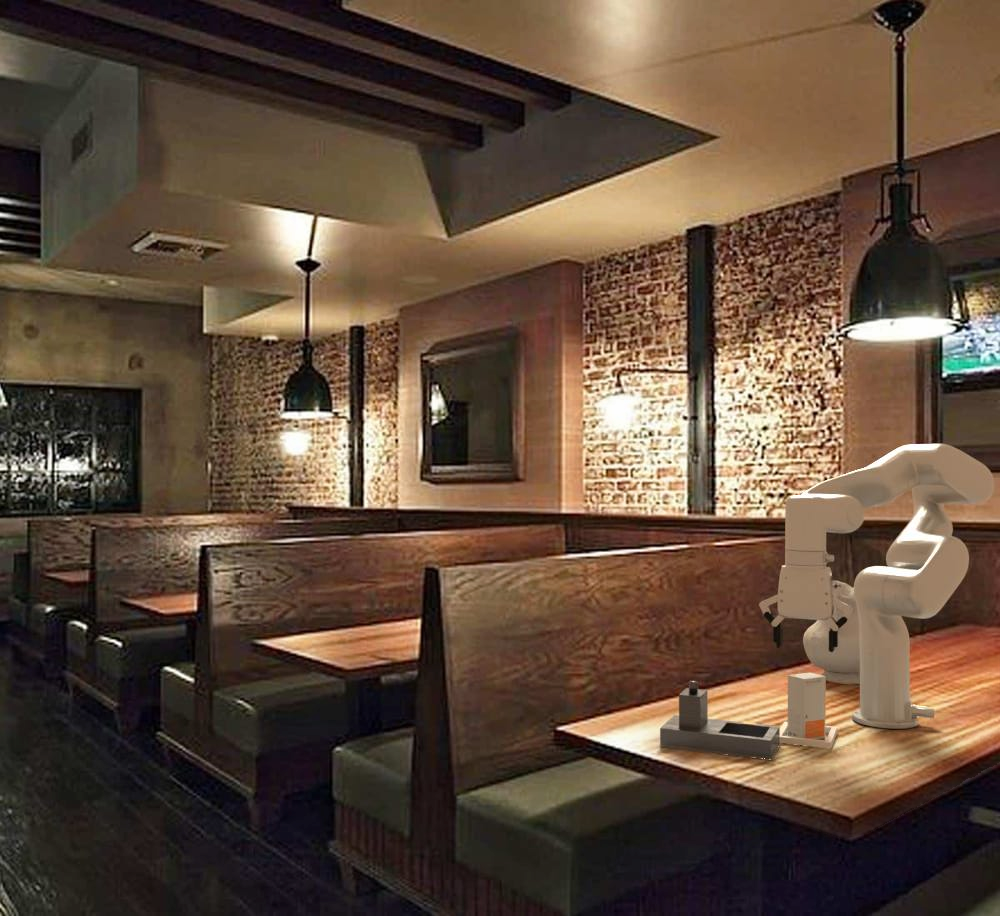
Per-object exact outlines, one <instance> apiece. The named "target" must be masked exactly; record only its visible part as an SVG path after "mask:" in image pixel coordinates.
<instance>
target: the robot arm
mask: <svg viewBox="0 0 1000 916" xmlns="http://www.w3.org/2000/svg"><path fill="white" fill-rule="evenodd" d="M910 490H911V495H912V503H913V515H912V518H911V519H910V521H909V522H908V523H907V525H906V526H905V527H904V528H903V529H902V530H901V532H900V533H899V535H898V536H897V537H896V538H895V540H894V541H893V542H892V543H891V545H890V546H889V548H888V549H887V552H886V555H885V556H886V557H885V561H886V562H885V563H886V565H887V566H883V565H882V566H881V565H874V566H869V567H866V568H864V569H862V570H861V571H860V572H859V573H858V574H857V575H856V577H855V579H854V583H853V587H854V596H855V601H856V605H857V610H858V617H859V632H860V684H859V709H856V710H854V711H852V713H851V718H852V721H854V722H856V723H858V724H861V725H863V726H864V725H865V726H868V727H873V728H880V729H892V730H893V729H895V730H903V729H904V730H905V729H912V728H914V727H917V726H918V725H919V718H918V717H921V718H927V719H935V708H931V707H928V706H924V705H923V706H919V705H916V704H915V703H913V699H912V698H911V686H910V685H911V683H910V682H911V681H910V680H911V679H910V677H911V673H910V672H911V670H910V669H911V668H910V667H911V663H910V660H911V659H910V652H911V651H910V649H911V648H910V646H911V644H910V641H911V640H910V635H909V630H908V628H907V625H906V622H905V621H904V619H903V617H905V618H912V619H920V620H921V619H922V620H923V619H930V618H932V617H934V616H936V615H937V614H938V612H940V611H941V610H942V608H944V606H945V604H946V603H947V602H948V600H949V599H950V598H951V597H952V595H953V593H954V592H955V591H956V589H958V587H959V585H960V584H961V583H962V581H963V580H964V578H965V576H966V574H967V572H968V569H969V562H970V554H969V549H968V547H967V546H966V545H965V544H966V543H964V542H963V541H962V540H961V539H960V538H958V537H956V536H953V535H952V534H953V531H954V528H953V522H952V521H951V518H950V517H949V515H948V514H947V511H946V508H945V504H949V505H950V504H951V505H953V504H954V505H980V504H983V503H985V502H987V501H988V500H989V499H990V498H991V497H992V496H993V493H994V491H995V480H994V475H993V474H992V472H991V469H989V468H988V467H987V466H986V465H985V464H984V463H982V462H981V461H979V460H977V459H975V458H974V457H972V456H971V455H969V454H967V453H966V452H964V451H962V450H960V449H958V448H956V447H954V446H952V445H950V444H945V443H919V444H918V443H917V444H915V443H913V444H905V445H902V446H900V447H897V448H896V449H894V450H892V451H890V452H889V453H887V454H886V455H884V456H883V457H881V458H879V459H878V460H876V461H873V463H871V464H869V465H867V466H866V467H864V468H860V469H857V470H854V471H850V472H848V473H846V474H842V475H839V476H836V477H833V478H829V479H827V480H824V481H821V482H819V483H817V484H816V485H813V486H811V487H810V488H809V489H807V490H805V491H803V493H801V494H800V495H791V496H788V497H787V498H786V501H785V509H784V510H785V512H784V513H785V514H784V515H785V516H784V517H785V519H784V521H785V522H784V523H785V526H784V527H785V529H784V530H785V533H784V536H785V538H784V539H785V540H784V541H785V542H784V549H785V550H784V551H785V552H784V559H785V560H784V561H785V562H784V565H781V569H780V573H779V578H778V579H779V580H778V589H777V590H778V591H777V594H775V595H773V596H771V597H769V598H766V599H764V600H761V601H760V602H759V603H758V606H759V609H760V610H761V612H762V614H763V616H764V618H765V619H766V620H767V621H768V622H769V623H770V625H771V626H772V629H773V630H772V631H773V632H772V633H773V635H772V636H773V638H772V639H773V640H772V641H773V643H776V645H775V647H776V648H778V649H779V648H781V647H782V646H783V639H784V638H783V637H784V636H783V634H784V633H783V631H784V630H783V629H784V627H783V625H782V621H784V620H785V618H787V619H797V620H798V619H800V620H811V621H813V620H814V621H817V620H825V621H826V623H827V624H828V625H829V626H830V631H829V651H830V652H833V651H834V647H838V629H839V628H840V627H842V626H843V625H844V624H845V623H846V622H847V621H848V619H849V617H850V615H851V614H852V612H853V608H852V607H851V606H849V605H847V604H845V603H843V602H841V601H840V600H838V599H836V598H834V593H833V581H834V580H833V576H832V575H833V574H832V570H831V567H830V566H827V564H828V563H830V562H831V563H832V562H835V555H834V554H830V553H828V552H827V533H830V534H831V533H832V534H849V533H853V532H855V531H856V530H858V529H859V528H860V527H861V526H862V525H863V523H864V520H865V516H866V514H865V509H869V508H870V509H871V508H878V507H881V506H885V505H887V504H889V503H892V502H893V501H894V500H896V499H897V498H899V497H901V496H902V495H903V494H905V493H906V492H908V491H910ZM776 603H777V606H776V607H777V615H774V614H773V613H772V612H771V610H770V608H769V606H771V605H773V604H776ZM834 606H836V607H838V608H839V609H841V610H843V612H844V614H843V615H842V617H841V618H840V619H839V620H838V621H836V620H835V619H834V618H833V616H832V615H833V614H834Z"/></svg>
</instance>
